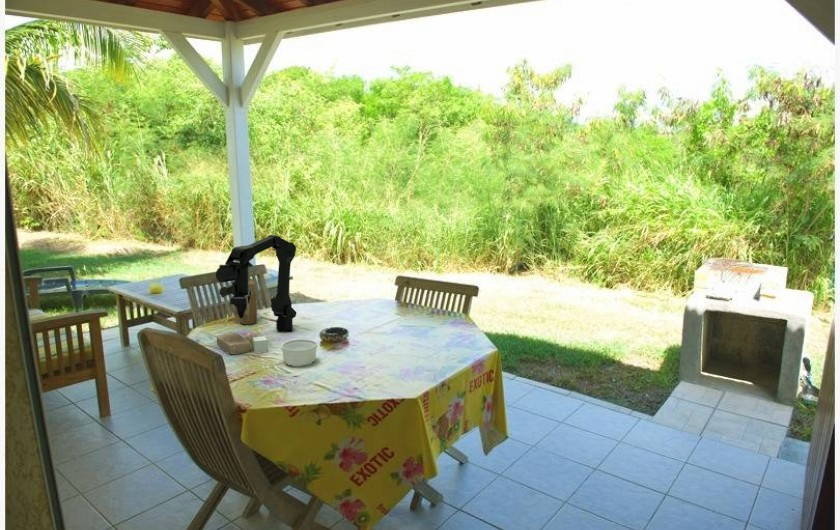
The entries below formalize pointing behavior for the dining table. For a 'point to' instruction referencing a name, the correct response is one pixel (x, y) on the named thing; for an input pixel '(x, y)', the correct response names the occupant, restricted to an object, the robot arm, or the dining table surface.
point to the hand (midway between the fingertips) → (242, 316)
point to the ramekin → (299, 351)
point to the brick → (233, 343)
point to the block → (252, 305)
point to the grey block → (260, 344)
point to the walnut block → (245, 316)
